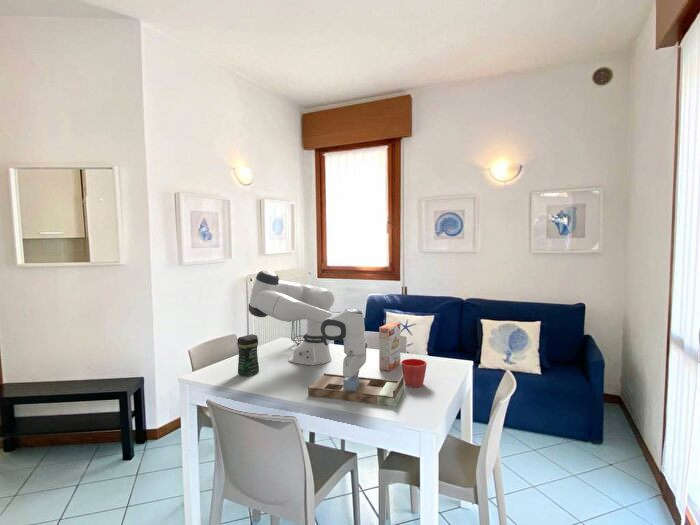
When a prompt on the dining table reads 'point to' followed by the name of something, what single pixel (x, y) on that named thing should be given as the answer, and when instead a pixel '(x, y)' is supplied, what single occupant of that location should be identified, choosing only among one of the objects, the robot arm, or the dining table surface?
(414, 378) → the flower pot
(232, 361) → the dining table surface
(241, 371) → the coffee jar
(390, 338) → the cracker box
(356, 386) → the cube
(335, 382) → the box
